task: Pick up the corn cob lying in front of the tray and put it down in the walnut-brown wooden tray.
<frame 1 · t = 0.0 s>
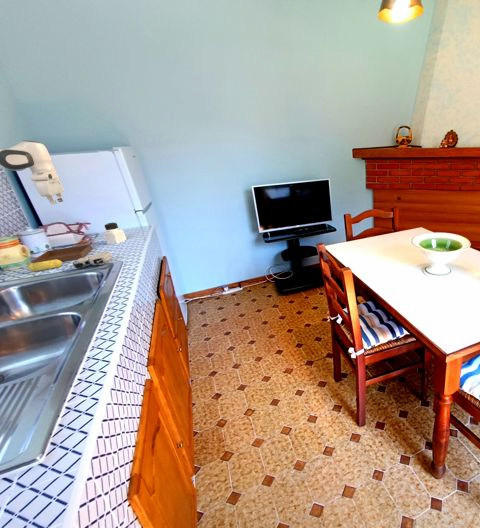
hand: (57, 203, 155), 28 cm above the counter, tool pointing down, fingers open, 8 cm apart
medicine bottle: (117, 242, 182), on the counter
tray: (65, 257, 160), on the counter
corn cob: (47, 269, 144), on the counter
robot toy: (94, 265, 146), on the counter
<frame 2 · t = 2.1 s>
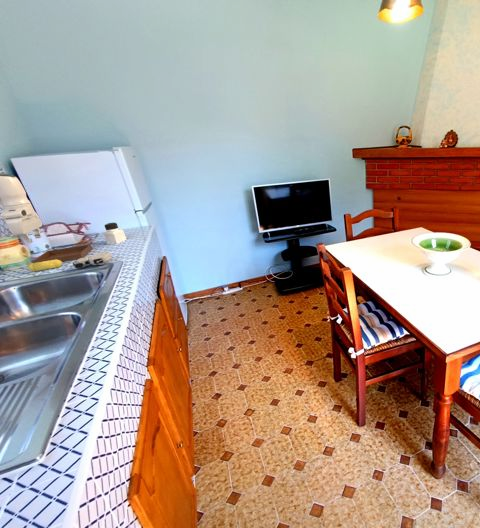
hand: (34, 240, 139), 15 cm above the counter, tool pointing down, fingers open, 8 cm apart
nothing on the counter moved.
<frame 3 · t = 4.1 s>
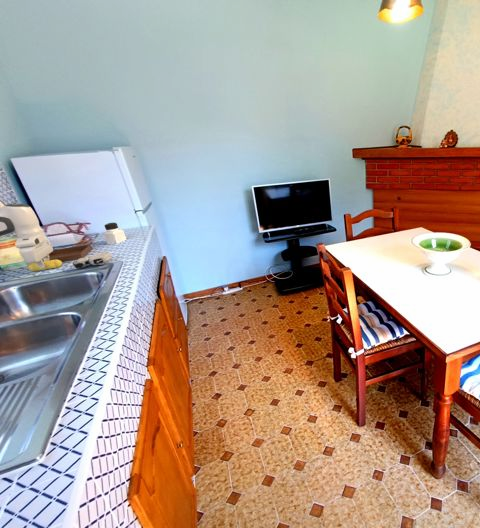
hand: (45, 266, 144), 2 cm above the counter, tool pointing down, fingers closed on corn cob, 4 cm apart
corn cob: (47, 269, 144), on the counter, touching gripper
everything else where it was.
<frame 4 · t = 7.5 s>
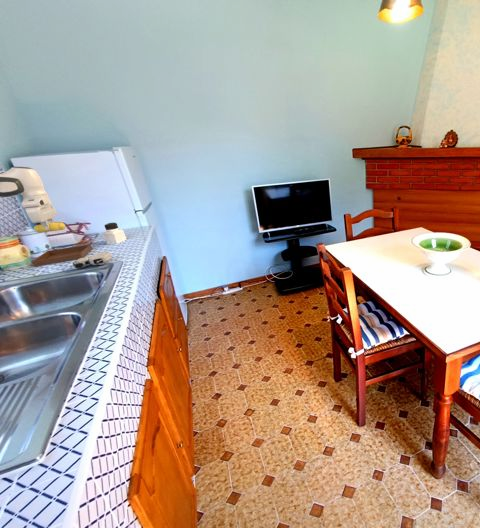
hand: (50, 228, 152), 17 cm above the counter, tool pointing down, fingers closed on corn cob, 4 cm apart
corn cob: (51, 231, 152), point 15 cm above the counter, touching gripper
everything else where it was.
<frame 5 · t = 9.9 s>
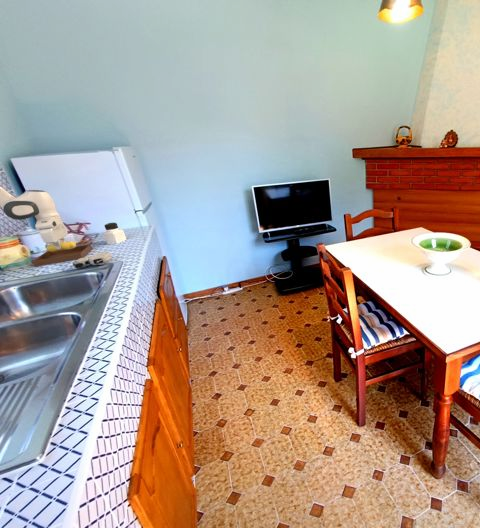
hand: (61, 247, 158), 6 cm above the counter, tool pointing down, fingers closed on corn cob, 4 cm apart
corn cob: (63, 250, 159), point 4 cm above the counter, touching gripper
everything else where it was.
when the fingers open (2 cm above the counter, at t = 11.2 s): corn cob stays where it is, resting on tray.
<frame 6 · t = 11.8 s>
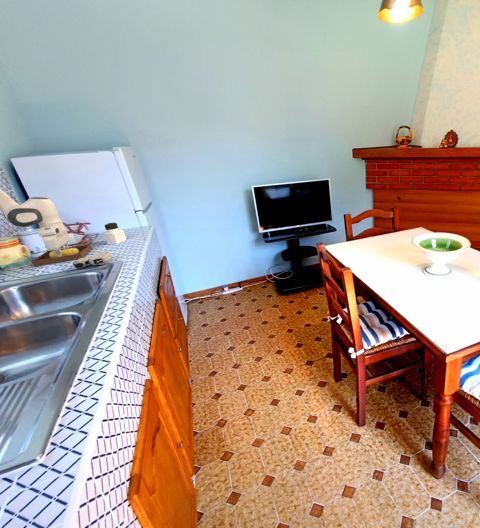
hand: (64, 253, 159), 2 cm above the counter, tool pointing down, fingers open, 8 cm apart
corn cob: (65, 256, 160), resting on tray
everything else where it was.
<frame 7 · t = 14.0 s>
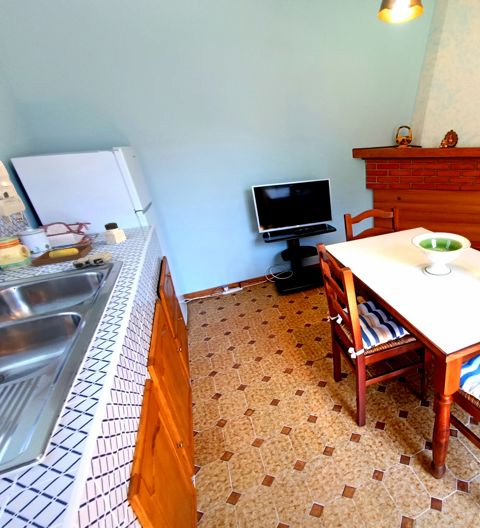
hand: (16, 223, 138), 22 cm above the counter, tool pointing down, fingers open, 8 cm apart
corn cob: (65, 256, 160), resting on tray, tilted 11°
everything else where it was.
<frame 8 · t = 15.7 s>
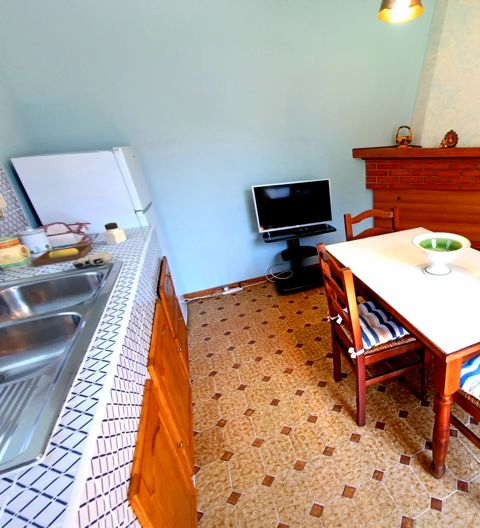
corn cob: (65, 256, 160), resting on tray, tilted 18°
everything else where it was.
at the end: corn cob inside the target area in the tray (0.1 cm from its centre), point 0.5 cm above the tray's base; the gripper is holding nothing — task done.
